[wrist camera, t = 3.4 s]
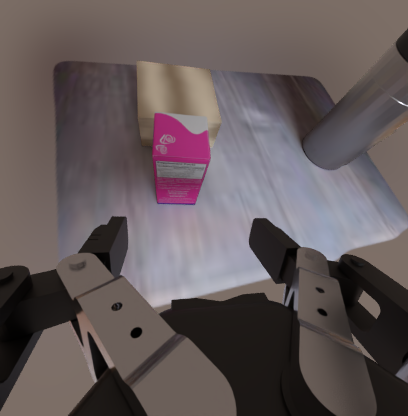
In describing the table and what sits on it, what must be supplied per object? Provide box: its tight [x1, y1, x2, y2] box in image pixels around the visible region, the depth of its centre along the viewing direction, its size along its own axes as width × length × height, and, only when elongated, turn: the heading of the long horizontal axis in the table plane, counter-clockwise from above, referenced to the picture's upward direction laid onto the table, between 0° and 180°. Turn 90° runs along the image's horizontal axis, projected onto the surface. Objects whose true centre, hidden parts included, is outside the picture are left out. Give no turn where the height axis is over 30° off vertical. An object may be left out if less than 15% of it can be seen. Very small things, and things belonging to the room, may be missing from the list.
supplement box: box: [152, 112, 211, 205], centre depth 24 cm, size 6×6×12 cm
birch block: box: [137, 61, 221, 147], centre depth 32 cm, size 12×12×6 cm
